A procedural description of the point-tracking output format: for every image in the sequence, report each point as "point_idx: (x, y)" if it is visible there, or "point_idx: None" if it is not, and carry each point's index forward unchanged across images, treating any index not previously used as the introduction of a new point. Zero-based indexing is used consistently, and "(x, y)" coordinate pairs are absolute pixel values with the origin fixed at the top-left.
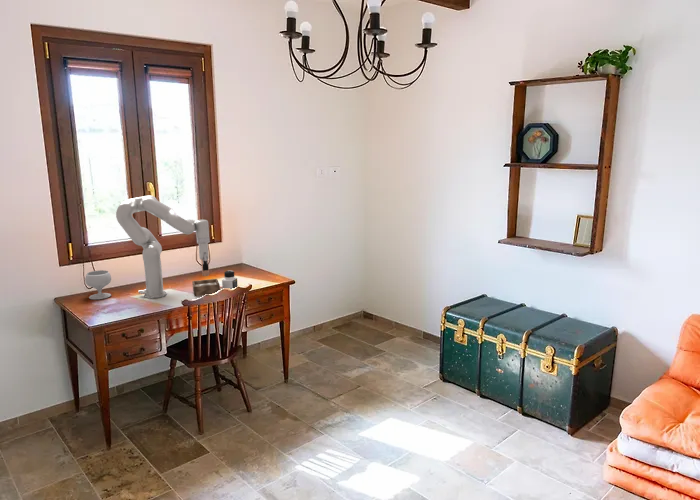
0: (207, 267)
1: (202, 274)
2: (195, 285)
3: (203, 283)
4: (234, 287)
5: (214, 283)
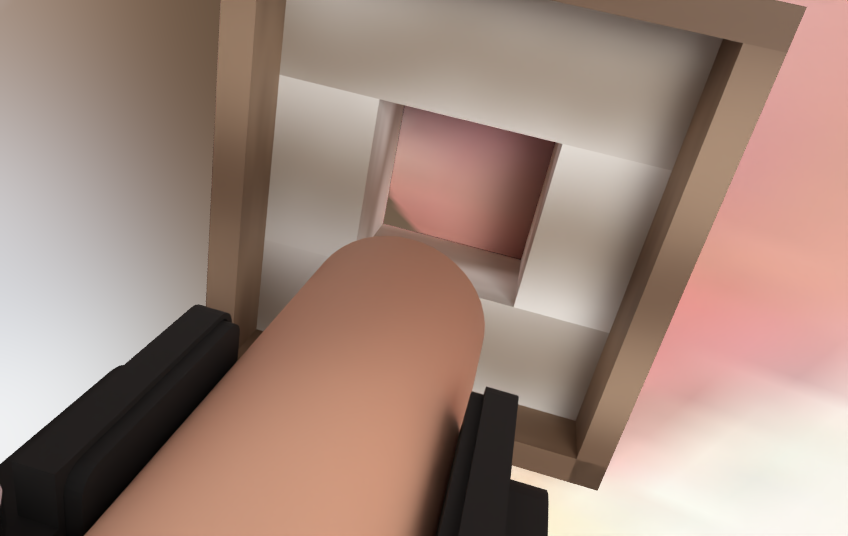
0: None
1: (391, 248)
2: (616, 34)
3: (650, 228)
4: None
5: (515, 378)
